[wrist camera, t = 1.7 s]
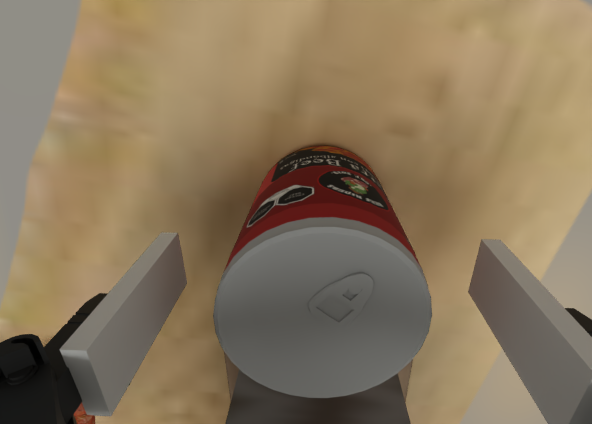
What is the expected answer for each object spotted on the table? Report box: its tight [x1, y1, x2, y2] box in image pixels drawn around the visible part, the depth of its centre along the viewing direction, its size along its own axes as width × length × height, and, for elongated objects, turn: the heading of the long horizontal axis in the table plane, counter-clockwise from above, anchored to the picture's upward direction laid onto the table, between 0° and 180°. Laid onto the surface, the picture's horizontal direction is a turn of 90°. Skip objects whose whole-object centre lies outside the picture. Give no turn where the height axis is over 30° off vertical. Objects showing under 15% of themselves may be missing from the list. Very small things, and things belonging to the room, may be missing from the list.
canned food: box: [213, 146, 432, 398], centre depth 17 cm, size 8×8×11 cm
